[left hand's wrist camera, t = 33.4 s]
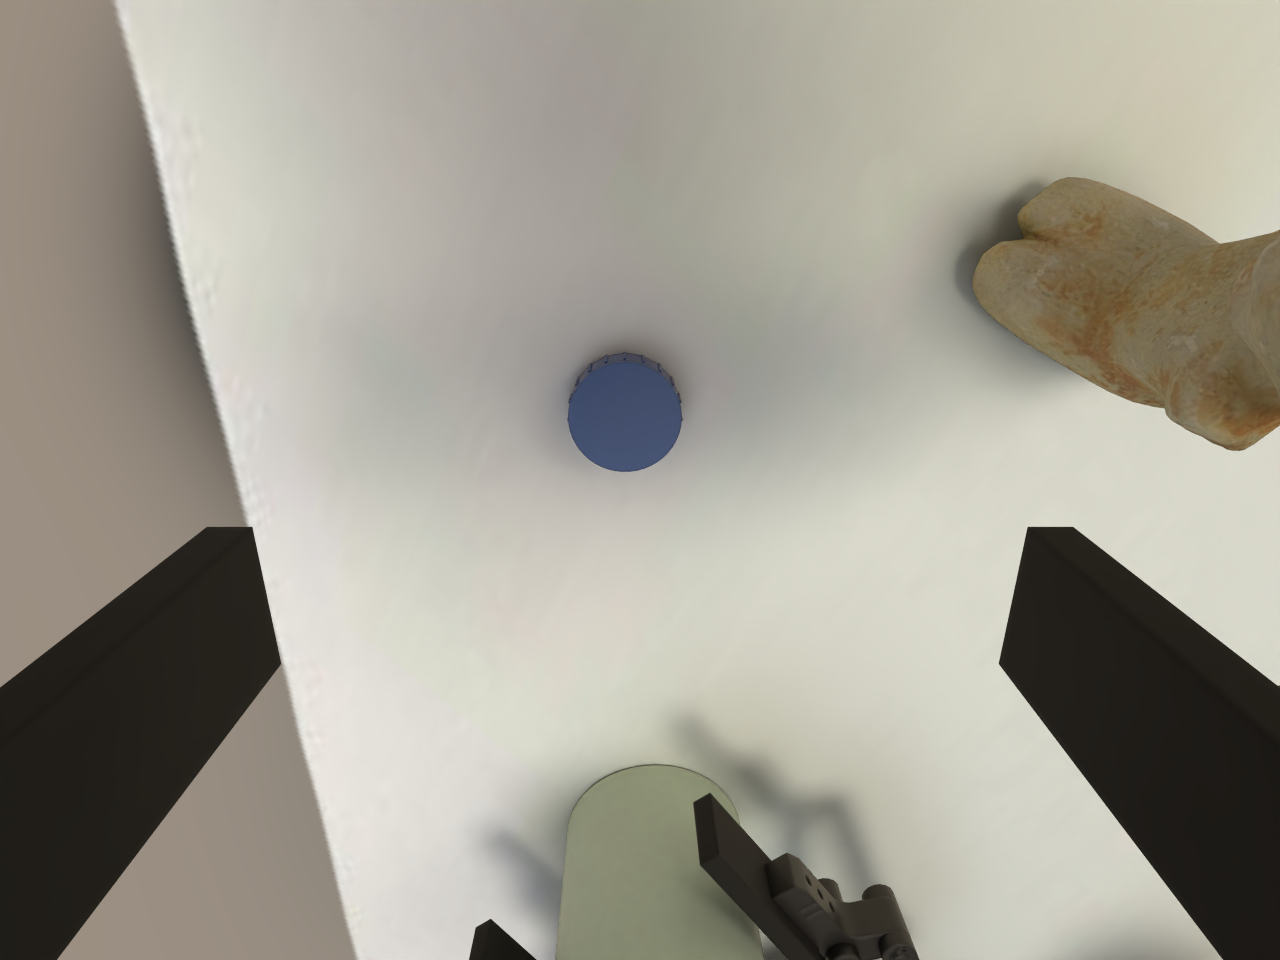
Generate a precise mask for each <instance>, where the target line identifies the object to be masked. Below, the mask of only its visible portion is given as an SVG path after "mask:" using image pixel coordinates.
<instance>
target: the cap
mask: <svg viewBox="0 0 1280 960" xmlns="http://www.w3.org/2000/svg"><path fill="white" fill-rule="evenodd" d="M568 403H570V406H569V413H568V421H569V428H570V432H571V435H572V438H573V440H574V442H575V444H576V445H577V447H578V448H579V450H580V451H581V452H582V453H583V454H584V455H585V456H586V457H587V458H588V459H589V460H591V461H592V462H594V463H595V464H597V465H599V466H601V467H603V468H606V469H609V470H614V471H621V472H630V471H637V470H641V469H644V468H647V467H649V466H651V465H653V464H655V463H657V462H658V461H659V460H661V459H662V458H663V457H664V456H665V455H666V454H667V453H668V452H669V451H670V450H671V448H672V447H673V445H674V444H675V442H676V440H677V437H678V435H679V432H680V428H681V421H682V413H681V406H680V403H681V399H680V395H679V393H677V391H676V388H675V386H674V382H673V378H672V376H671V377H670V376H669V375H668V374H667V373H666V372H665V370H664V369H662V368H661V365H660V364H659V363H658V364H656V363H655V362H653V361H652V360H650V359H648V358H645V357H644V355H642V356H639V355H635V354H626V352H624V354H615V355H611V356H608V355H605V358H602V359H600V360H598V361H597V362H595V363H593V364H589V367H588V368H587V369H586V371H585V372H584V373H583V374H582V375H581V377H578V378H577V381H576V385H575V388H574V391H573V393H571V395H570V399H569V402H568Z"/></svg>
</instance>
